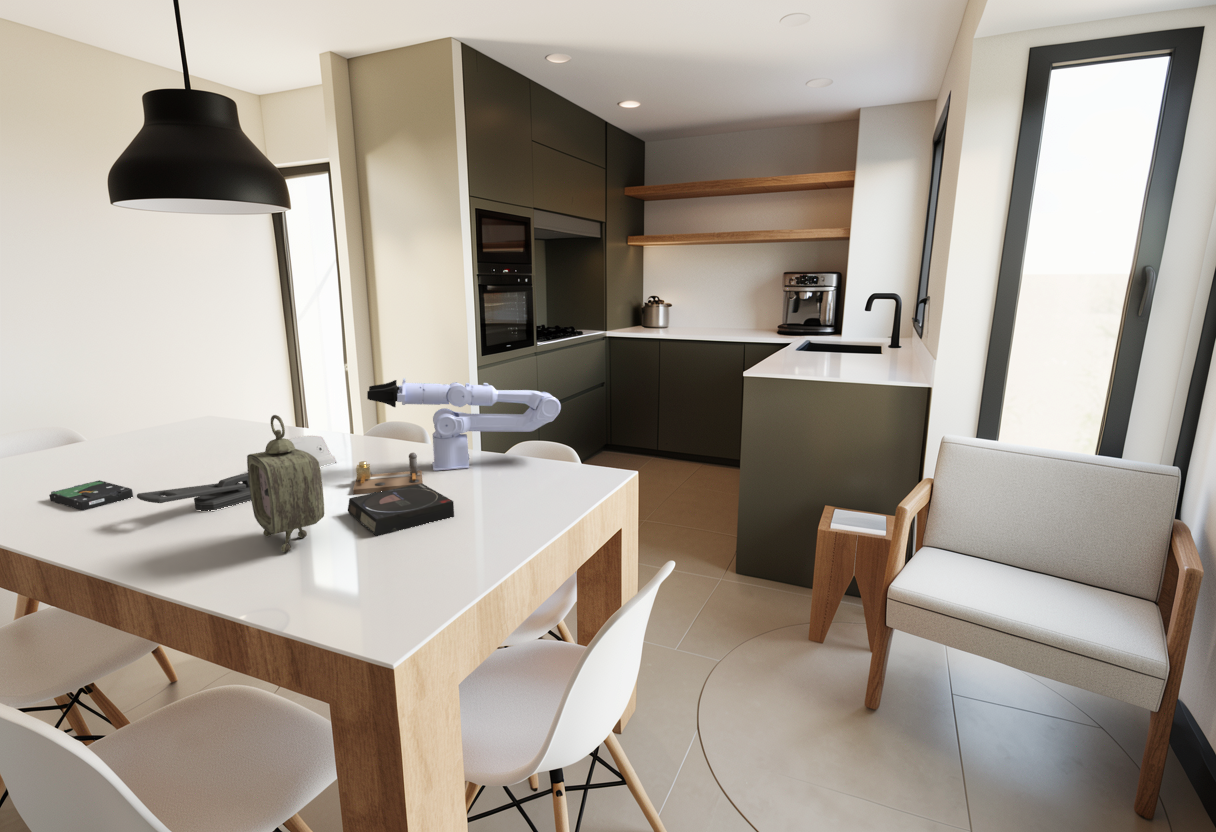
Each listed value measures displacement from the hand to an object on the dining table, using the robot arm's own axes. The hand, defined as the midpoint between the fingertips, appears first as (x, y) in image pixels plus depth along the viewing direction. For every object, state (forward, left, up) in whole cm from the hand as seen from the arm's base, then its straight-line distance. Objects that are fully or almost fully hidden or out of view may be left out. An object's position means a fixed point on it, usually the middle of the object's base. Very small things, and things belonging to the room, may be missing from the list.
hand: (368, 392), depth 160 cm
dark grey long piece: (+34, +18, -22) cm, 44 cm away
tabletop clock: (+13, +44, -22) cm, 51 cm away
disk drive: (+62, +3, -22) cm, 66 cm away
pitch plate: (-4, +12, -22) cm, 25 cm away
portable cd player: (-7, +36, -22) cm, 43 cm away
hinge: (+19, -10, -22) cm, 31 cm away
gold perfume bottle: (+2, +12, -20) cm, 23 cm away
